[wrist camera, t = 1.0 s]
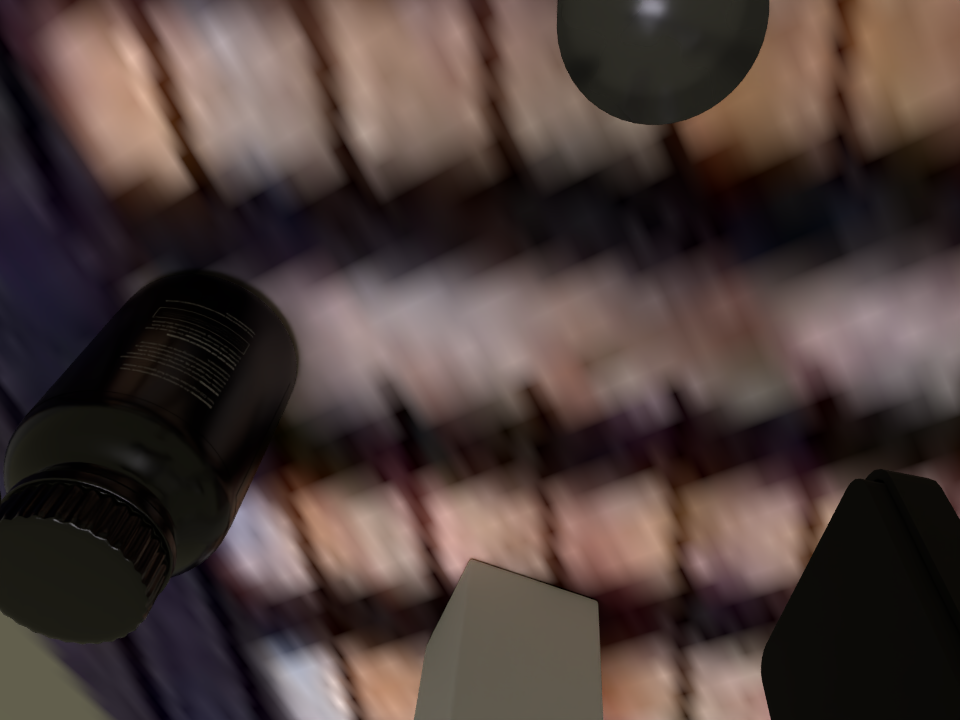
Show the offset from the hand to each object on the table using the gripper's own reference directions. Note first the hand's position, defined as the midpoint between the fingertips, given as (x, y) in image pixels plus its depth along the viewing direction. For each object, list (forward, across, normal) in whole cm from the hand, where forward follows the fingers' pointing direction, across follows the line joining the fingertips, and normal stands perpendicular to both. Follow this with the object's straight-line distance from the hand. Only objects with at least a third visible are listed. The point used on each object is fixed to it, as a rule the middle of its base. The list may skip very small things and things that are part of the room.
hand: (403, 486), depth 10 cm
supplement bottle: (+21, +9, +13) cm, 26 cm away
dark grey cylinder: (+20, -3, -3) cm, 21 cm away
